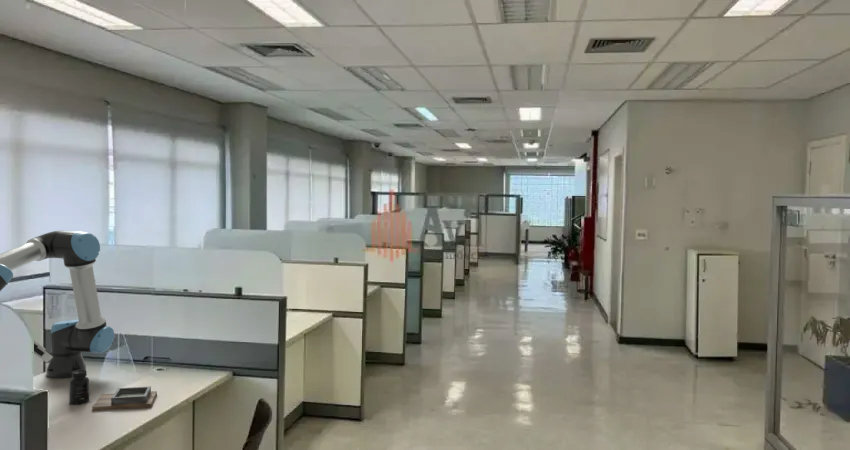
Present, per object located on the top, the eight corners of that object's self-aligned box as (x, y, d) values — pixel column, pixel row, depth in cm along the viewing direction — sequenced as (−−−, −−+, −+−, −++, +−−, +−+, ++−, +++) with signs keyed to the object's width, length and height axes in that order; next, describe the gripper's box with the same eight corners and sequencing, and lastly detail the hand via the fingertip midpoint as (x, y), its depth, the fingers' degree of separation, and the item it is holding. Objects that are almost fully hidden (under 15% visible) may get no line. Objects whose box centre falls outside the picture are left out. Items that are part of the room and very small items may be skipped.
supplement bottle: (66, 401, 237) (66, 370, 237) (86, 398, 242) (86, 367, 242) (72, 406, 233) (72, 375, 232) (91, 402, 237) (92, 371, 237)
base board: (101, 397, 243) (101, 387, 243) (156, 394, 249) (156, 385, 248) (92, 410, 229) (92, 400, 229) (150, 407, 234) (151, 397, 234)
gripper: (-16, 321, 227) (32, 356, 237) (-8, 334, 208) (44, 371, 218) (2, 305, 230) (48, 341, 240) (11, 317, 211) (61, 354, 221)
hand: (46, 355), depth 229 cm, fingers open, 13 cm apart
